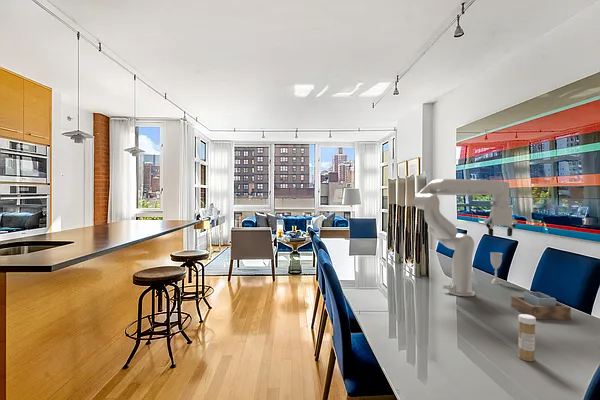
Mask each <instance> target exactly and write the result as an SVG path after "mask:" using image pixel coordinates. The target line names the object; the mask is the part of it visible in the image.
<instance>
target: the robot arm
mask: <svg viewBox="0 0 600 400" xmlns="http://www.w3.org/2000/svg"><path fill="white" fill-rule="evenodd" d="M475 195H476V196H478V195H479V196H480V195H484V196H492V201H490V202H489V204H490V205H491V207H490V211H489V217H488V218H485V219H484V220H483V223H484V225H485V226H486V228H487V229H488V236H489V237H494V227H495V226H503V227H505V226H506V227H507V231H506V233H507V234H506V235H507V237H513V229H514V228H515V227H516V225H517V223H519V222H518V220H517V219H515V218H513V214H512V207H511V206H510V183H509V182H508V181H500V180H497V179H494V180H493V179H468V178H467V179H466V178H465V179H464V178H462V179H457V178H456V179H455V178H441V179H440V178H439V179H434V180H431V181H430V182H429V183H428V184H427V185H425V186H424V187H423V188H422V189H421V190H420V191H419V192H418V193H417V194H416V195H415V196H414V199H413V206H415V208H417V209H418V210H422V211H423V218H424V221H425V223H426V224H427V225H428V226H429V232H430V234H431V236H432V237H433V238H435V239H436V240H437V241H438V242H439V243H440V244H441V245H443V246H444V247H445V248H448V249H450V250H453V251H454V252H453V254H452V259H451V283H449V284H448V285H446V284H444V285H443V284H442V286H441V287H442V289H443V290H448V293H449V294H451V295H454V296H458V297H459V296H460V297H474V296H475V295H476V293H475V291H474V290H473V289H472V281H473V277H472V276H473V275H472V274H473V254H474V253H473V252H474V250H475V249H474V248H475V241H474V239H473V238H472V237H471V236H470V235H469V234H467V233H462V232H458V228H457V226H456V225H455V224H454V223H453V222H451V221H450V220H449V219H448V218H446V217H445V216H444V215H443V214H442V213H441V211H440V210H441V209H440V205H441V203H440V198H439V196H475Z"/></svg>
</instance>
